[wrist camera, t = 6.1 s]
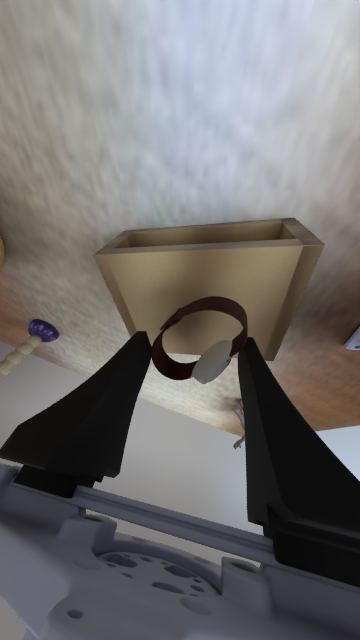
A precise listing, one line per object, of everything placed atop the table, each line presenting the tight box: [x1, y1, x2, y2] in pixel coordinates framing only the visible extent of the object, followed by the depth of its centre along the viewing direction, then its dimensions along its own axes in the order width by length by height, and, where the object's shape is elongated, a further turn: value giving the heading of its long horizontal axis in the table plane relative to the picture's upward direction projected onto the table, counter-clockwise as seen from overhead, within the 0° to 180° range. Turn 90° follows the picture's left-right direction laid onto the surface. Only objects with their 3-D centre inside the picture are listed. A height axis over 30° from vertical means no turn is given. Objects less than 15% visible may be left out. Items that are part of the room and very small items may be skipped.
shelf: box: [93, 218, 325, 361], centre depth 15 cm, size 13×10×5 cm
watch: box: [151, 296, 248, 384], centre depth 11 cm, size 8×5×4 cm, turn 146°
